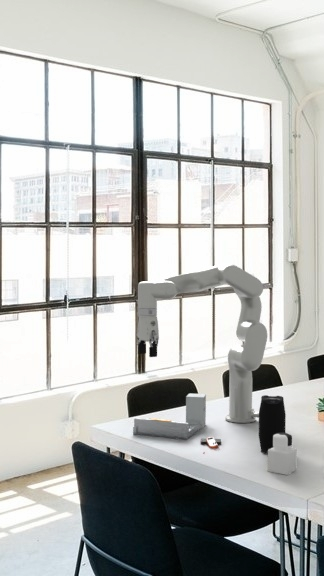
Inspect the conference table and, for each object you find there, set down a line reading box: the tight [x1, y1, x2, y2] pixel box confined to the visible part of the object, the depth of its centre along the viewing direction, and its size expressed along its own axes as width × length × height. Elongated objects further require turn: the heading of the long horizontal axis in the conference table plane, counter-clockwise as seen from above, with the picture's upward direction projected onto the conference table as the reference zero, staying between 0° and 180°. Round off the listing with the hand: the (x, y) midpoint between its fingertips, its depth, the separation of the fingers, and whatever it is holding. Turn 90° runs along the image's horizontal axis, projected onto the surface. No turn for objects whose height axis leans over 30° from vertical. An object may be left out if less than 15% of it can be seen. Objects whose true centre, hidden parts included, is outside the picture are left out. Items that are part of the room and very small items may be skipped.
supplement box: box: [185, 393, 207, 429], centre depth 286 cm, size 7×7×13 cm
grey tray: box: [132, 417, 201, 441], centre depth 276 cm, size 22×16×6 cm
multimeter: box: [200, 436, 222, 454], centre depth 254 cm, size 18×12×3 cm, turn 170°
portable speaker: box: [258, 395, 287, 454], centre depth 249 cm, size 9×9×20 cm
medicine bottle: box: [267, 432, 298, 476], centre depth 228 cm, size 7×7×12 cm
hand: (147, 355), depth 282 cm, fingers open, 9 cm apart
